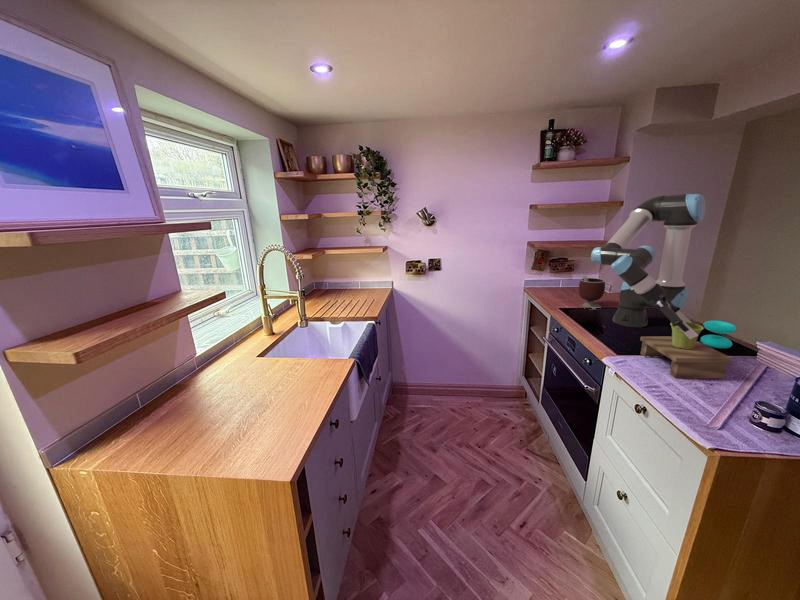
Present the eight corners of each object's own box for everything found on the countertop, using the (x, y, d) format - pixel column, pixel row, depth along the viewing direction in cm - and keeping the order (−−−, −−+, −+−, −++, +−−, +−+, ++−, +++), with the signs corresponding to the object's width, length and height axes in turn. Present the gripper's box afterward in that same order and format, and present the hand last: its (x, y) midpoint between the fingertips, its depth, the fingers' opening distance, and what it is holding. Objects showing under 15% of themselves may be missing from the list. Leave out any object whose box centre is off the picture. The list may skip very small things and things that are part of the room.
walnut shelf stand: (637, 353, 133) (640, 336, 131) (683, 353, 131) (687, 336, 129) (672, 378, 114) (676, 358, 112) (726, 378, 112) (731, 358, 110)
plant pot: (660, 341, 125) (664, 321, 123) (684, 341, 125) (688, 320, 122) (679, 352, 116) (684, 330, 114) (705, 351, 116) (710, 329, 113)
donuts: (698, 319, 141) (725, 319, 138) (694, 339, 144) (720, 340, 141) (714, 327, 132) (743, 328, 129) (709, 348, 134) (737, 350, 132)
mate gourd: (607, 307, 194) (611, 275, 188) (592, 311, 189) (595, 278, 183) (584, 301, 207) (588, 272, 202) (569, 304, 202) (572, 274, 197)
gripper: (637, 287, 134) (677, 325, 130) (638, 302, 115) (684, 348, 110) (655, 276, 130) (696, 315, 125) (659, 290, 110) (708, 337, 106)
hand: (691, 331), depth 118 cm, fingers open, 13 cm apart
